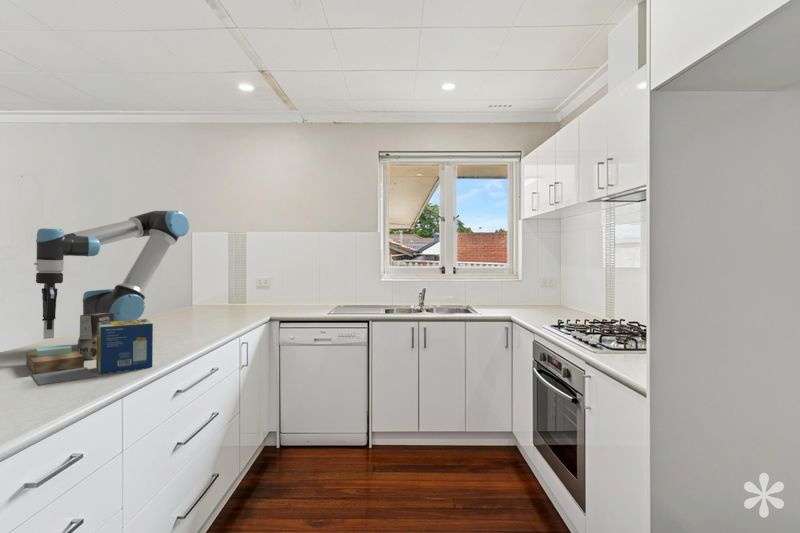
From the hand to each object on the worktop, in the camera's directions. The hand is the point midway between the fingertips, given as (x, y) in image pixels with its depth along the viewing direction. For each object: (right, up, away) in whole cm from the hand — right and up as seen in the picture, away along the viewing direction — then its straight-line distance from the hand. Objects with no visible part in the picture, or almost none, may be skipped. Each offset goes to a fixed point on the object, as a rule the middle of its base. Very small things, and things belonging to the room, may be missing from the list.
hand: (48, 338), depth 155 cm
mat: (+19, -9, -18) cm, 28 cm away
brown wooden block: (+7, -9, -6) cm, 13 cm away
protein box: (+31, -9, -6) cm, 33 cm away
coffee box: (+11, -8, +8) cm, 16 cm away
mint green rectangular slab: (+6, -4, -5) cm, 9 cm away
